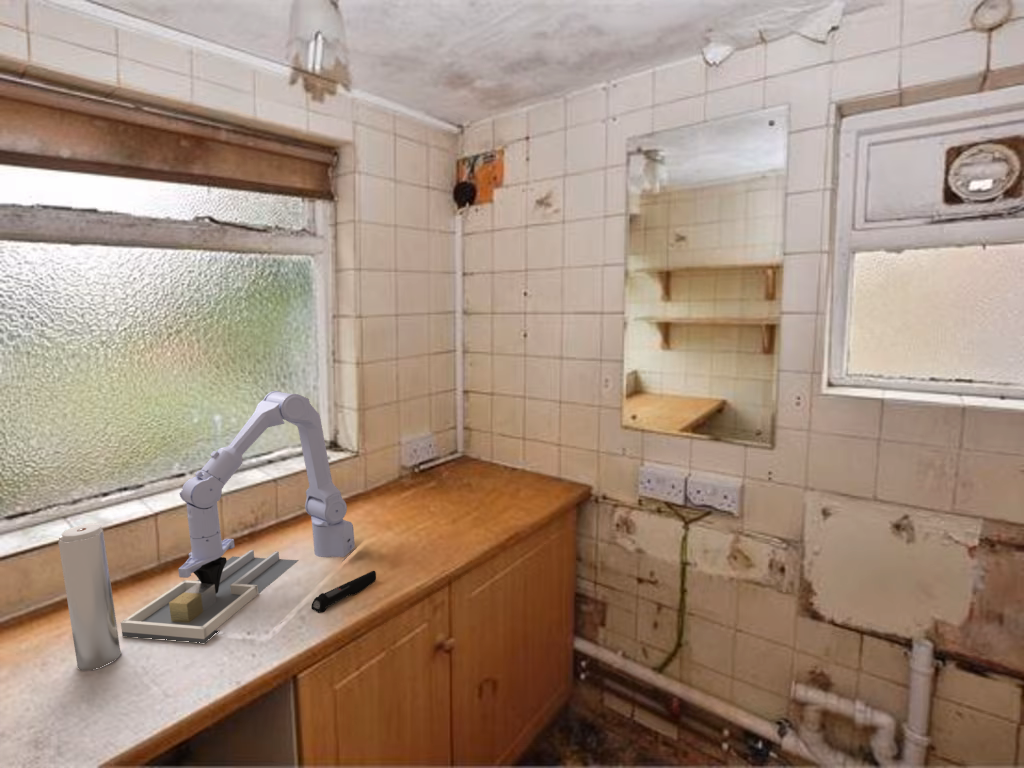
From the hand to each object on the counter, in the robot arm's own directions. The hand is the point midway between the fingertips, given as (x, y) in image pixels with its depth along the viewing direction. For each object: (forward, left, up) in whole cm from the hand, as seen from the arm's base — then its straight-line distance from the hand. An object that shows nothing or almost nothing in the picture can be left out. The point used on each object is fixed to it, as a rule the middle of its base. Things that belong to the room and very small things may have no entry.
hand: (212, 593), depth 123 cm
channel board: (0, -2, -2) cm, 3 cm away
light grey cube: (0, +3, -1) cm, 4 cm away
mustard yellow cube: (0, +7, -1) cm, 7 cm away
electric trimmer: (-27, -6, -2) cm, 28 cm away
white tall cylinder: (+7, +21, -2) cm, 22 cm away
